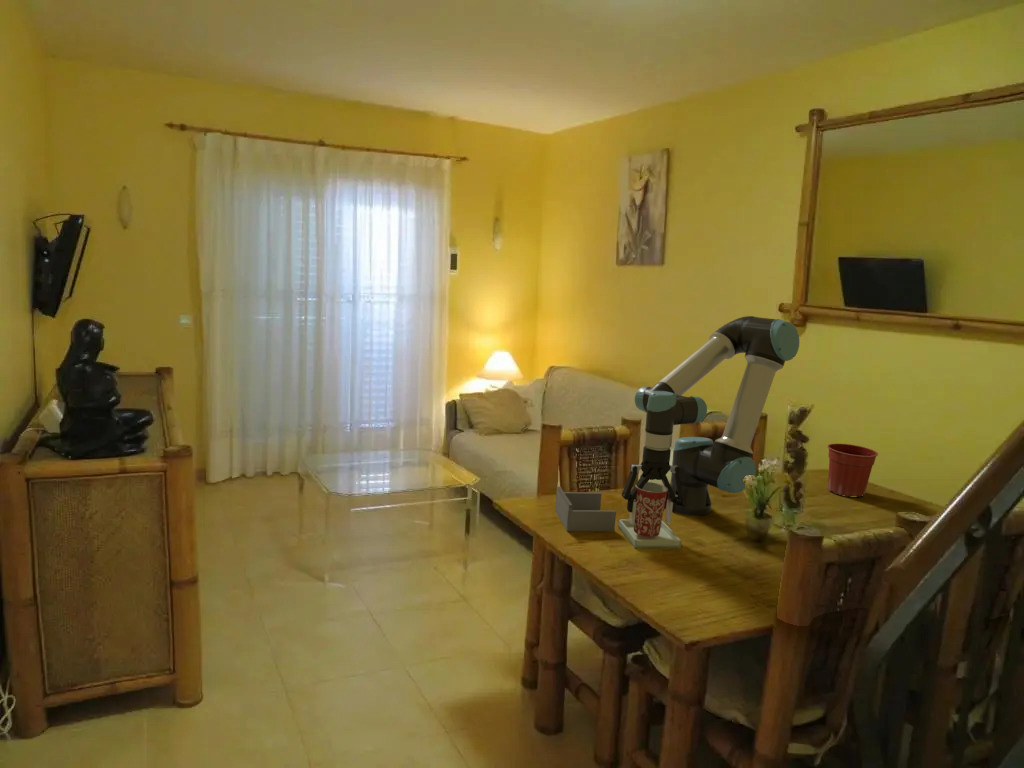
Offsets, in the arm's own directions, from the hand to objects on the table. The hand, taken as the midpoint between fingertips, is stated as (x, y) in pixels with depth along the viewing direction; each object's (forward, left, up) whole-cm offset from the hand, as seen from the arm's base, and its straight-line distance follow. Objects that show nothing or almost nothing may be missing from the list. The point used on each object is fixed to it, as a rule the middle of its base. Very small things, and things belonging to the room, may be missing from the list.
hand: (649, 522), depth 207 cm
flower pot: (-88, -41, -5) cm, 97 cm away
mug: (0, 0, -3) cm, 3 cm away
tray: (0, 0, -4) cm, 4 cm away
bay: (+16, -12, -4) cm, 21 cm away
